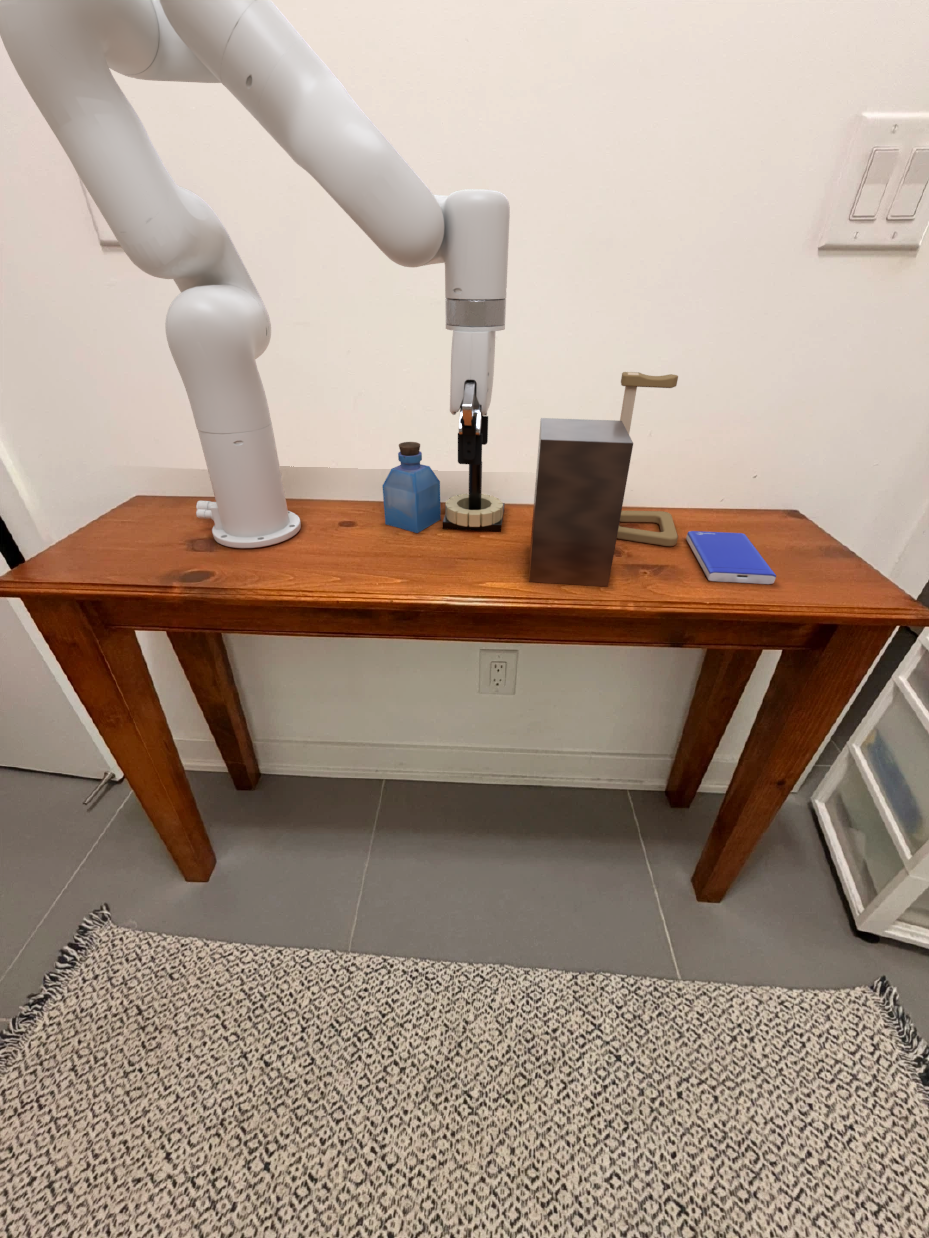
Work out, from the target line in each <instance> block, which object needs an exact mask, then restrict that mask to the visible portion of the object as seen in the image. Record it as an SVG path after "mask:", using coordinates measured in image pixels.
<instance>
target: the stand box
mask: <svg viewBox="0 0 929 1238" xmlns="http://www.w3.org/2000/svg"><path fill="white" fill-rule="evenodd" d="M538 433H539V434H538V435H539V436H538V446H537V461H536V473H535V485H534V495H533V496H534V498H533V508H532V510H533V511H532V522H531V535H530V547H529V575H528V582H529V583H541V584H557V585H572V586H573V585H574V586H589V587H590V586H592V587H606V588H608V587H609V584H610V580H611V573H612V568H613V562H614V557H615V551H616V545H617V540H618V539H617V534H618V528H619V526H620V523H621V522H620V517H621V511H623V505H624V500H625V493H626V488H627V481H628V478H629V477H628V476H629V470H630V465H631V459H632V454H633V448H634V442H633V440H632V438H631V436H630V433H629V434H628V432H627V430H626V428H625V426H624V424H623V422H622V421H620V420H615V419H614V420H612V419H611V420H610V419H586V418H585V419H584V418H583V419H582V418H581V419H579V418H553V417H552V418H551V417H540V421H539V432H538Z"/></svg>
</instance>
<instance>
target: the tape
mask: <svg viewBox="0 0 929 1238" xmlns="http://www.w3.org/2000/svg"><path fill="white" fill-rule="evenodd" d="M503 503H504V502H503V501H502V500H501V499H500V498H499V497H496V496H494V495H491V494H485V493H481V510H468V506H469V493H460V494H456V495H454V496H451V497H449V498H448V499H446V501H445V503H444V507H445V508H444V509H445V511H444V512H445V513H444V517H445V516H446V518H447V520H449V521H450V522H452V523H454V524H457V525H461V526H466V527H467V526H468V525H469V527H480V525H481V526H482V527H483V526H488V525H492V524H495V523H497V522H499V521H500V520H501V519H502V516H503V517H504V515H503Z"/></svg>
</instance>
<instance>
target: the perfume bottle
mask: <svg viewBox="0 0 929 1238" xmlns="http://www.w3.org/2000/svg"><path fill="white" fill-rule="evenodd" d="M398 449H399V451H398V453H397V457H398V460H397V461H398V462H400V464H399V465H397V466H394V467H392V468H391V469H390V471H389V473H388V474H387V476H386V478H385V480H384V481H383V484H382V485H381V486H382V487H381V488H382V497H383V498H382V499H383V510H384V522H385V523H384V524H385V525H386V526H391V527H394V528H397V529H401V530H404V531H408V532H411V533H416V534H419V533H421V532H422V531H424V530H426V529H427V528H429V527H430V526H433V525H434V524H436V523H438V522H439V521H440V520H442V513H441V508H442V507H441V481H440V480H439V478H438V477H437V475H436V474H435V472H434V471H433V469H432V468H431V466H430V465H425V464H422V463H421V461H422V460H423V453H422V451H420V449H421V443H419V442H417V441H404V442H400V443H399V444H398Z"/></svg>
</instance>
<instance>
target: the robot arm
mask: <svg viewBox="0 0 929 1238" xmlns="http://www.w3.org/2000/svg"><path fill="white" fill-rule="evenodd" d="M0 38H1V41H2V43H3V46H4V48H5V51H6V53H7V55H8V58H9V59H10V61H11V63H12V66H13V67H14V69H15V71H16V73H17V75H18V77H19V79H20V80H21V82H22V84H23V86H24V87H25V89H26V91H27V92H28V94H29V96H30V97H31V99H32V101H33V102H34V104H35V106H36V107H37V109H38V110H39V112H40V113H41V115H42V117H43V119H44V120H45V121H46V123H47V125H48V126H49V129H50V130H51V131H52V133H53V135H54V136H55V138H56V139H57V140H58V142H59V143H60V145H61V147H62V149H63V151H64V152H65V154H66V156H67V157H68V159H69V161H70V163H71V165H72V166H73V168H74V170H75V171H76V174H77V175H78V177H79V179H80V180H81V182H82V183H83V185H84V187H85V189H86V190H87V192H88V194H89V195H90V196H91V198H92V200H93V202H94V204H95V206H96V207H97V208H98V210H99V212H100V214H101V215H102V217H103V219H104V220H105V222H106V223H107V225H108V227H109V228H110V230H111V232H112V233H113V234H112V235H114V237H115V239H116V240H117V242H118V244H119V246H120V247H121V248H122V250H123V252H124V253H125V255H126V256H127V257H128V258H129V260H130V261H131V262H132V263H133V264H134V265H135V266H136V267H137V268H138V269H139V270H140V271H142V272H144V273H145V274H147V275H149V276H152V277H154V278H158V279H163V280H172V281H174V283H175V285H176V286H177V288H178V290H179V291H180V293H179V294H178V295H177V296H175V297H174V299H173V300H172V301H171V304H170V305H169V307H168V308H167V312H166V315H165V323H164V324H165V336H166V341H167V345H168V348H169V351H170V353H171V357H172V358H173V361H174V364H175V366H176V368H177V371H178V373H179V376H180V378H181V380H182V383H183V386H184V389H185V392H186V395H187V398H188V401H189V404H190V405H189V406H190V409H191V412H192V416H193V420H194V423H195V426H196V430H197V433H198V437H199V441H200V445H201V449H202V452H203V456H204V460H205V464H206V468H207V472H208V476H209V479H210V484H211V487H212V491H213V496H214V500H215V501H211V500H198V501H197V502H196V506H195V507H196V512H195V516H196V518H197V519H198V520H199V519H200V520H212V521H213V523H214V525H213V527H212V528H211V533H212V536H213V540H214V541H215V542H216V543H217V544H220V545H222V546H225V547H229V548H235V549H256V548H264V547H269V546H274V545H277V544H280V543H283V542H286V541H288V540H290V539H291V538H293V537H294V536H296V535H297V534H298V533H299V532H300V530H301V528H302V523H301V518H300V517H299V515H298V514H296V513H295V512H293V511H290V510H288V504H287V500H286V499H287V498H286V494H285V488H284V483H283V477H282V472H281V466H280V461H279V456H278V451H277V444H276V439H275V433H274V430H273V429H274V428H273V423H272V420H271V414H270V408H269V404H268V399H267V395H266V392H265V387H264V383H263V381H262V378H261V375H260V372H259V369H258V365H257V362H256V360H257V359H258V358H260V357H261V356H262V355H263V354H264V353H265V351H267V349H268V347H269V344H270V343H271V337H272V323H271V318H270V316H269V312H268V309H267V307H266V305H265V303H264V301H263V299H262V296H261V295H260V293H259V290H258V288H257V287H256V285H255V283H254V281H253V278H252V277H251V275H250V273H249V271H248V269H247V267H246V265H245V263H244V261H243V259H242V258H241V255H240V254H239V251H238V249H237V248H236V245H235V244H234V242H233V240H232V238H231V236H230V233H229V232H228V230H227V228H226V227H225V225H224V223H223V222H222V220H221V219H220V217H219V216H218V214H217V213H216V211H215V210H214V209H213V207H211V206H210V204H209V203H208V202H207V201H206V200H205V199H204V198H202V197H201V196H200V195H199V194H197V193H195V192H193V191H192V190H191V189H188V188H185V187H184V186H180V185H178V184H177V182H176V181H175V179H174V178H173V177H172V176H171V174H170V172H169V170H168V169H167V167H166V165H165V164H164V162H163V160H162V159H161V156H160V154H159V152H158V151H157V149H156V147H155V146H154V144H153V142H152V139H151V138H150V135H149V133H148V131H147V129H146V127H145V126H144V123H143V122H142V120H141V118H140V116H139V115H138V113H137V111H136V110H135V108H134V107H133V105H132V104H131V102H130V101H129V99H128V98H127V97H126V95H125V93H124V92H123V90H122V89H121V87H120V85H119V84H118V82H117V81H116V78H115V77H114V75H113V73H112V72H111V70H112V71H114V72H115V73H117V74H119V75H122V76H124V77H128V78H132V79H136V80H143V81H155V82H177V83H178V82H180V83H201V84H222V85H223V86H224V87H225V89H227V91H229V92H230V93H231V95H232V96H233V97H234V98H235V99H236V100H237V101H238V102H239V103H240V104H241V106H243V108H244V109H245V110H247V112H248V113H249V114H250V115H251V116H252V117H253V118H254V119H255V121H257V122H258V124H259V125H260V126H261V127H262V128H263V129H264V130H265V131H266V132H267V133H268V134H269V135H270V136H271V138H272V139H273V140H274V141H275V142H276V143H277V144H278V145H279V147H281V148H282V149H283V150H284V151H285V153H286V154H287V155H288V156H289V157H290V158H291V160H293V162H294V163H295V164H297V166H299V167H300V168H301V169H303V170H304V171H306V173H308V174H309V175H310V176H311V177H312V178H313V179H314V180H315V181H316V182H317V183H318V184H319V186H320V187H322V189H323V190H324V191H325V192H326V193H327V194H328V195H329V196H330V197H331V198H332V199H333V200H334V202H335V203H336V204H337V205H338V206H339V207H340V208H341V209H342V210H343V212H344V213H346V215H347V216H349V218H350V219H351V220H352V221H353V222H354V223H355V225H357V226H358V227H359V228H360V230H362V232H363V233H364V234H365V235H366V236H367V237H368V238H369V240H371V242H372V243H373V244H374V245H375V246H376V247H377V248H378V249H379V250H380V251H381V252H382V253H383V254H384V255H385V257H387V258H388V259H389V260H390V261H391V262H393V263H395V264H396V265H398V266H402V267H404V268H419V267H424V266H430V265H436V264H444V295H445V297H444V298H445V300H444V303H445V304H444V305H445V306H444V307H445V309H444V310H445V312H444V313H445V315H444V316H445V329H446V330H448V331H452V337H451V338H452V339H451V350H450V351H451V352H450V384H449V385H450V386H449V387H450V388H449V389H450V392H449V393H450V394H449V413H450V414H451V415H453V416H455V415H456V414H457V413H458V412H459V419H458V420H459V421H458V432H457V463H458V464H459V465H469V464H471V465H480V464H481V462H482V463H483V445H484V446H485V445H487V444H488V442H489V441H488V440H489V438H488V437H489V415H488V411H489V408H490V405H491V401H492V396H493V387H494V375H495V374H494V373H495V356H496V332H499V331H500V332H501V331H504V330H505V329H506V312H507V287H508V265H509V263H508V262H509V242H510V241H509V239H510V217H511V216H510V215H511V214H510V213H511V212H510V202H509V199H508V197H507V195H505V194H504V193H503V192H501V191H499V190H494V189H486V188H485V189H483V188H468V189H467V188H466V189H460V190H456V191H453V192H450V194H449V195H441V194H434V193H433V192H432V191H431V189H430V187H428V185H427V183H425V182H424V181H423V179H422V178H421V177H420V176H419V175H418V174H417V172H416V171H415V170H414V169H413V168H412V166H411V165H410V164H409V163H408V161H406V160H405V158H404V157H403V156H402V154H400V152H398V150H397V149H396V147H395V146H394V145H393V144H392V143H391V142H390V140H388V138H387V137H386V136H385V135H384V134H383V132H382V131H381V130H380V129H379V127H377V126H376V124H375V123H374V122H373V121H372V119H370V117H368V115H367V114H366V113H365V112H364V111H363V109H362V108H361V107H360V106H359V105H358V104H357V102H356V100H355V99H354V98H353V97H352V95H350V93H349V91H348V90H347V88H346V87H345V86H344V84H343V83H342V82H341V81H340V80H339V79H338V77H337V76H336V75H335V74H334V72H333V71H332V70H331V68H330V67H329V66H328V65H327V64H326V63H325V61H323V59H322V58H321V57H320V56H319V55H318V54H317V52H316V51H315V50H314V49H313V48H312V47H311V45H310V44H309V43H308V42H307V41H306V40H305V38H304V37H303V36H302V35H301V33H299V31H298V30H297V29H296V27H295V26H294V25H293V24H292V23H291V22H290V20H288V18H287V17H286V15H284V14H283V12H282V11H281V10H280V9H279V7H278V6H277V5H276V4H275V2H273V0H0Z"/></svg>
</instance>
